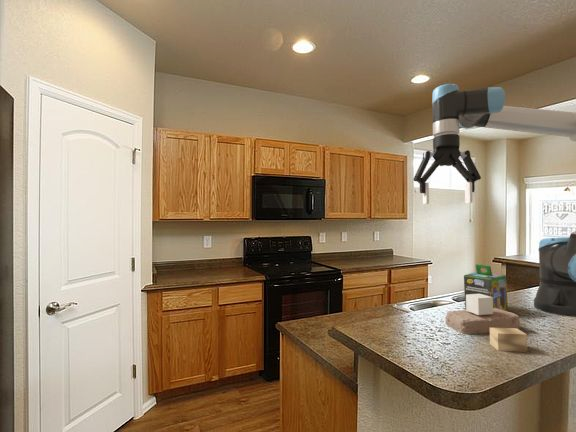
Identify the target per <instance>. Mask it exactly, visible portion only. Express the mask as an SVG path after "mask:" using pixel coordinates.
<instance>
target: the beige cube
mask: <svg viewBox="0 0 576 432" xmlns="http://www.w3.org/2000/svg"><path fill="white" fill-rule="evenodd" d="M465 310H466V311H469V312H471V313H474V314H477V315H487V314H493V297H490V296H486V295H483V294H467V295H466V309H465Z"/></svg>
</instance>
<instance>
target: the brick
mask: <svg viewBox="0 0 576 432" xmlns="http://www.w3.org/2000/svg"><path fill="white" fill-rule="evenodd" d="M520 321H521V320H520V316H519V315H518V314H516V313H514V312H510V311H509V310H507V311H504V310H501V309H497V308H493V314H487V315H477V314H474V313H471V312H469V311H466V309H465V310H464V309H463V310H461V309H460V310H458V309H457V310H452V311H449V310H448V311H447V312H446V315H445V325H446V326H447V327H449V328H451V329H452V330H455V331H456V332H458V333H459V332H460V334H461V333H462V334H461V335H472V334H473V335H474V333H476V334H487V333H488V334H490V328H517V329H519V330H520V323H521V322H520Z"/></svg>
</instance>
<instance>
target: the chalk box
mask: <svg viewBox="0 0 576 432" xmlns="http://www.w3.org/2000/svg"><path fill="white" fill-rule="evenodd" d="M475 269H476V270H475V271H476V272H470V273H467V274H464V275H463V289H464V309H465V310H466V295H467V294H483V295H486V296H490V297H493V308H497V309H501V310H504V311H509V304H508V303H509V302H508V287H507V286H508V285H507V275H506V274H500V273H493V272H492V268H491V266H490V265H487V264H479V263H478V264H475ZM482 269H485V270H486V271H482Z"/></svg>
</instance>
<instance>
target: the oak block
mask: <svg viewBox="0 0 576 432" xmlns="http://www.w3.org/2000/svg"><path fill="white" fill-rule="evenodd" d="M489 345H491V346H492V347H493V348H495V349H496V350H497V351H500V352H502V351H503V352H505V351H506V352H526V353H527V352H528V334H527V333H525V332H523V331H522V330H520V328H519V329H517V328H490V333H489Z"/></svg>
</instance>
